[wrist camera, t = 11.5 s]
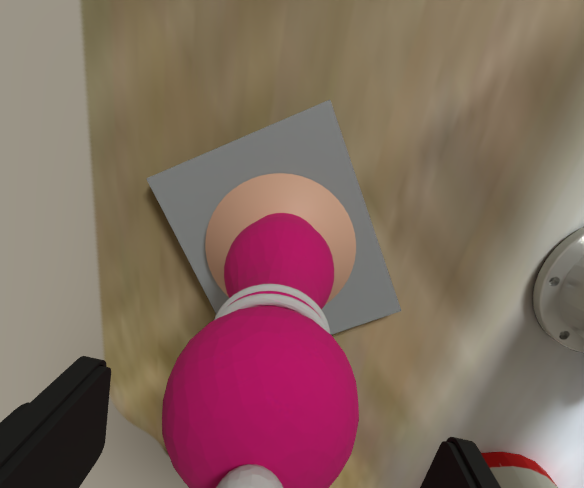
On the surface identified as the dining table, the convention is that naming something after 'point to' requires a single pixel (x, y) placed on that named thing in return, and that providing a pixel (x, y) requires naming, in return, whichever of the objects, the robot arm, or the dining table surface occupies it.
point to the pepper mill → (265, 371)
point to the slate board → (281, 209)
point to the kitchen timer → (517, 471)
